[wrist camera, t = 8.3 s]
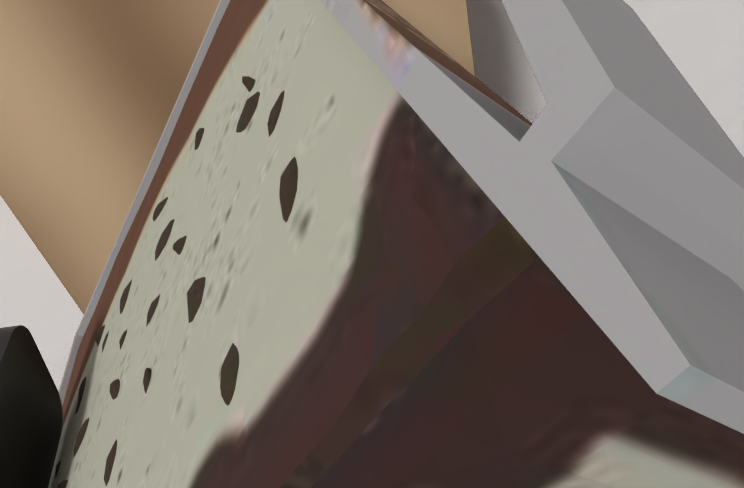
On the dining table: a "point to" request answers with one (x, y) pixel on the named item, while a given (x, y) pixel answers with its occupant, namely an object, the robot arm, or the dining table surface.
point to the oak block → (112, 110)
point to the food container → (419, 268)
